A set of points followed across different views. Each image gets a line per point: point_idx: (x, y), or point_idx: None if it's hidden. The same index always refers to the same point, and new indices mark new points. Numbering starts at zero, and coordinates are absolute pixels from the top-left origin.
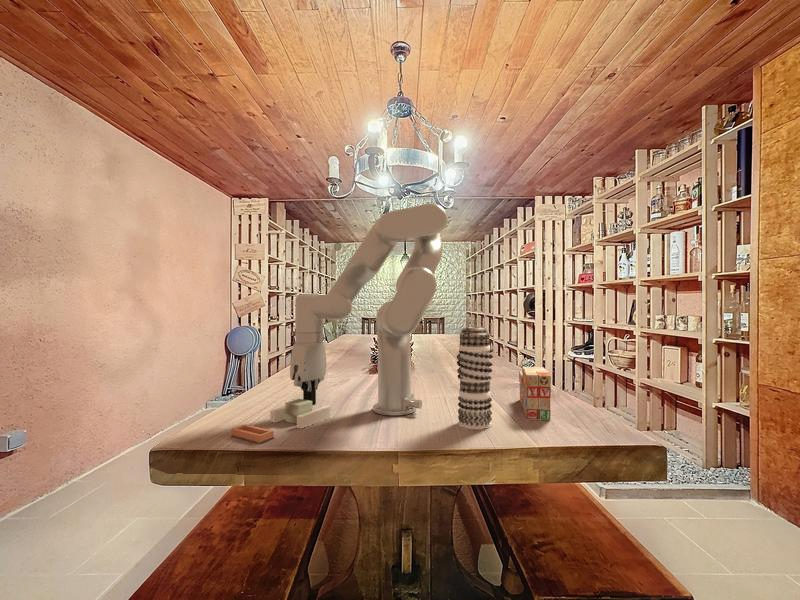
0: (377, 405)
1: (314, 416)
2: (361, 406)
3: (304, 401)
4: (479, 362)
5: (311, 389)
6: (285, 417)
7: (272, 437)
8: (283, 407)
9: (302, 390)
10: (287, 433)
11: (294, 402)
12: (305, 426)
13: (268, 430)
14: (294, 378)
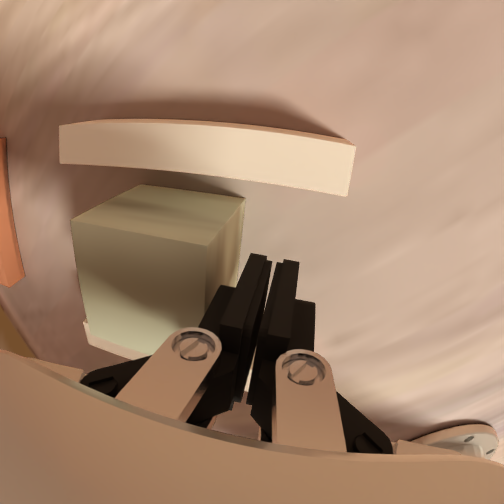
0: (443, 446)
1: None
2: (488, 381)
3: (166, 330)
4: None
5: (215, 416)
6: (127, 192)
7: (19, 277)
8: (140, 139)
9: (187, 333)
10: (64, 289)
11: (109, 278)
12: None
13: (2, 269)
14: (17, 369)
